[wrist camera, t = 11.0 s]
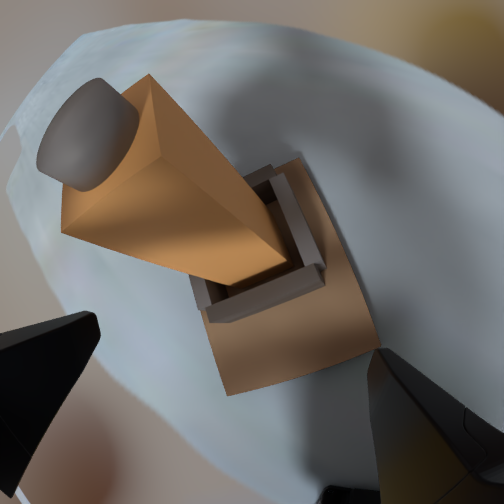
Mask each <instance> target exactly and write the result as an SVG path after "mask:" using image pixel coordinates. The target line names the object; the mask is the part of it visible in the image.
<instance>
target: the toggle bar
mask: <svg viewBox="0 0 504 504" xmlns="http://www.w3.org/2000/svg"><path fill="white" fill-rule="evenodd" d="M36 164H37V169H38V170H39V171H40V172H42V173H44V174H46V175H48V176H50V177H52V178H54V179H56V180H58V181H60V182H62V183H63V190H62V209H61V233H64V234H66V235H69V236H72V237H75V238H78V239H81V240H84V241H87V242H90V243H93V244H95V245H98V246H101V247H104V248H107V249H110V250H113V251H117V252H120V253H123V254H126V255H129V256H132V257H135V258H138V259H141V260H145V261H148V262H151V263H154V264H157V265H161V266H164V267H167V268H170V269H174V270H177V271H180V272H184V273H187V274H190V275H194V276H197V277H201V278H204V279H208V280H211V281H214V282H218V283H222V284H225V285H229V286H232V287H236V288H239V289H242V288H244V287H247V286H249V285H251V284H254V283H256V282H259V281H261V280H263V279H266V278H268V277H270V276H273V275H275V274H278V273H280V272H282V271H285V270H287V269H289V268H291V267H294V265H293V263H292V260H291V257H290V255H289V252H288V250H287V247H286V245H285V242H284V240H283V237H282V235H281V232H280V230H279V227H278V225H277V222H276V220H275V217H274V215H273V214H272V213H271V211H270V210H269V209H268V208H267V207H266V205H265V204H264V203H263V202H262V200H261V199H260V198H259V197H258V196H257V194H256V193H255V192H254V191H253V190H252V188H251V187H250V186H249V185H248V184H247V183H246V181H245V180H244V179H243V178H242V177H241V175H240V174H239V173H238V172H237V171H236V170H235V168H234V167H233V166H232V165H231V164H230V163H229V161H228V160H227V159H226V158H225V157H224V156H223V154H222V153H221V152H220V151H219V150H218V149H217V148H216V146H215V145H214V144H213V143H212V142H211V141H210V140H209V138H208V137H207V136H206V135H205V134H204V133H203V132H202V131H201V129H200V128H199V127H198V126H197V125H196V124H195V123H194V122H193V121H192V119H191V118H190V117H189V116H188V115H187V114H186V113H185V112H184V111H183V109H182V108H181V107H180V106H179V105H178V104H177V103H176V102H175V101H174V100H173V99H172V97H171V96H170V95H169V94H168V93H167V92H166V91H165V90H164V89H163V88H162V87H161V86H160V85H159V84H158V82H157V81H156V80H155V79H154V78H153V77H152V76H151V75H150V74H148V75H146V76H145V77H143V78H142V79H141V80H139V81H138V82H136V83H135V84H134V85H132V86H131V87H130V88H128V89H127V90H126V91H124V92H123V93H122V94H119V93H118V92H117V91H116V90H115V89H114V88H113V87H112V86H110V85H109V84H108V83H107V82H106V81H105V80H103V79H102V78H95V79H92V80H90V81H88V82H87V83H85V84H84V85H82V86H81V87H80V88H79V89H77V90H76V91H75V92H74V93H73V94H72V95H71V96H70V97H69V98H68V99H67V100H66V102H65V103H64V104H63V105H62V106H61V108H60V109H59V110H58V112H57V113H56V115H55V116H54V118H53V119H52V121H51V123H50V124H49V126H48V128H47V130H46V132H45V134H44V136H43V138H42V141H41V143H40V146H39V150H38V154H37V161H36Z"/></svg>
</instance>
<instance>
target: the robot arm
mask: <svg viewBox="0 0 504 504" xmlns="http://www.w3.org/2000/svg"><path fill="white" fill-rule="evenodd" d="M100 337H101V333H100V328H99V324H98V320H97V316H96V314H95V313H93V312H89V311H82V312H78V313H74V314H71V315H67V316H63V317H60V318H56V319H52V320H49V321H45V322H41V323H38V324H34V325H30V326H26V327H23V328H19V329H15V330H11V331H7V332H4V333H0V490H1V491H2V492H4V494H6V495H7V496H8V497H9V498H12V497H13V495H14V493H15V491H16V489H17V487H18V485H19V482H20V480H21V478H22V476H23V474H24V472H25V470H26V468H27V466H28V464H29V462H30V460H31V458H32V456H33V454H34V452H35V451H36V449H37V447H38V445H39V443H40V442H41V440H42V438H43V436H44V434H45V433H46V431H47V429H48V427H49V426H50V424H51V422H52V420H53V418H54V417H55V415H56V414H57V412H58V410H59V409H60V407H61V406H62V404H63V402H64V401H65V399H66V397H67V396H68V394H69V393H70V391H71V389H72V388H73V386H74V385H75V383H76V381H77V380H78V378H79V377H80V375H81V374H82V372H83V370H84V368H85V366H86V365H87V363H88V361H89V359H90V357H91V355H92V353H93V351H94V350H95V348H96V346H97V344H98V342H99V340H100ZM367 380H368V393H369V410H370V422H371V428H372V434H373V440H374V447H375V454H376V461H377V469H378V477H379V485H380V491H374V490H364V489H356V488H355V489H351V488H345V487H338V486H331V485H330V486H327V487H326V488H325V489H324V491H323V494H322V496H321V498H320V500H319V502H318V504H504V433H503V432H501V431H499V430H498V429H496V428H495V427H493V426H492V425H490V424H489V423H487V422H486V421H484V420H483V419H482V418H480V417H479V416H477V415H476V414H475V413H473V412H472V411H471V410H470V409H468V408H467V407H466V408H465V406H464V405H463V404H462V403H460V402H459V401H458V400H456V399H455V398H454V397H452V396H451V395H450V394H448V393H447V392H446V391H445V390H443V389H442V388H441V387H439V386H438V385H437V384H435V383H434V382H433V381H431V380H430V379H429V378H427V377H426V376H425V375H423V374H422V373H421V372H420V371H418V370H417V369H416V368H414V367H413V366H412V365H410V364H409V363H408V362H406V361H405V360H404V359H402V358H401V357H400V356H398V355H397V354H396V353H394V352H393V351H392V350H390V349H389V348H377V349H375V351H374V353H373V356H372V359H371V362H370V365H369V368H368V373H367ZM329 490H332V491H333V492H328V491H329Z"/></svg>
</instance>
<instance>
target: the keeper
mask: <svg viewBox="0 0 504 504" xmlns="http://www.w3.org/2000/svg"><path fill="white" fill-rule="evenodd" d="M243 179H244V180H245V181H246V183H247V184H248V185H249V186H250V187H251V188H252V190H253V191H254V192H255V193H256V194H257V196H258V197H259V198H260V199H261V200H262V202H263V203H264V204H265V205H266V207H267V208H268V209H269V210H270V211H271V213H272V214H273V215H274V217H275V220H276V222H277V225H278V227H279V230H280V232H281V235H282V237H283V240H284V242H285V245H286V247H287V250H288V252H289V255H290V257H291V260H292V263H293V265H294V267H291V268H289V269H287V270H285V271H282V272H280V273H278V274H275V275H273V276H270V277H268V278H266V279H263V280H261V281H259V282H256V283H254V284H251V285H249V286H247V287H244V288H242V289H239V288H236V287H232V286H229V285H225V284H222V283H218V282H214V281H211V280H208V279H204V278H201V277H197V276H194V275H190V274H189V278H190V282H191V286H192V289H193V293H194V297H195V300H196V304H197V308H198V310H200V311H201V315H202V318H203V322H204V325H205V329H206V332H207V335H208V339H209V342H210V345H211V348H212V352H213V355H214V358H215V361H216V364H217V367H218V370H219V373H220V376H221V379H222V382H223V385H224V388H225V391H226V394H227V396H231V395H235V394H239V393H243V392H248V391H252V390H255V389H259V388H263V387H267V386H270V385H274V384H277V383H281V382H284V381H288V380H291V379H294V378H297V377H301V376H304V375H307V374H310V373H313V372H316V371H319V370H322V369H325V368H327V367H330V366H333V365H336V364H338V363H341V362H344V361H346V360H349V359H352V358H354V357H357V356H359V355H362V354H364V353H366V352H369V351H371V350H374V349H376V348H378V347H381V343H380V340H379V337H378V335H377V332H376V329H375V326H374V323H373V321H372V318H371V315H370V313H369V310H368V307H367V305H366V302H365V300H364V297H363V295H362V292H361V289H360V287H359V285H358V282H357V280H356V277H355V275H354V272H353V270H352V268H351V265H350V263H349V260H348V258H347V256H346V254H345V251H344V249H343V247H342V244H341V242H340V240H339V238H338V236H337V233H336V231H335V229H334V227H333V225H332V222H331V220H330V218H329V216H328V214H327V212H326V210H325V208H324V206H323V204H322V202H321V199H320V197H319V195H318V193H317V191H316V189H315V187H314V185H313V183H312V181H311V180H310V178H309V176H308V174H307V172H306V170H305V168H304V166H303V164H302V162H301V160H300V159H299V158H297V159H295V160H293V161H290V162H288V163H286V164H284V165H282V166H280V167H277V168H275V169H273V167H272V166H271V164H269V165H267V166H265V167H263V168H261V169H259V170H257V171H255V172H253V173H251V174H249V175H247V176H245V177H243Z"/></svg>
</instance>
